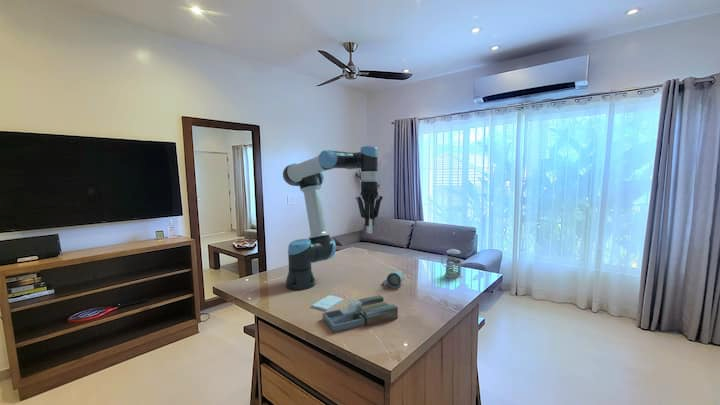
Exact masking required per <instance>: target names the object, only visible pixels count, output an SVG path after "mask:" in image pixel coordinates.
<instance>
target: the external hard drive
mask: <svg viewBox="0 0 720 405" xmlns="http://www.w3.org/2000/svg"><path fill="white" fill-rule="evenodd" d="M342 302H344V298H342V297H339V296H335V295H329V294H328V295H327V296H325V297H324V298H322V299H320V300H318V301H317V302H315V303H313V304H311V308H314V309H319V310H322V311H324V312H329V311H330V310H331V309H332V308H333V307H336V306H337V305H338V304H340V303H342Z"/></svg>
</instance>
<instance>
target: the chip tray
mask: <svg viewBox="0 0 720 405" xmlns="http://www.w3.org/2000/svg"><path fill="white" fill-rule="evenodd" d="M339 309H340V308H339ZM339 309H335V310H328V311H324V312H322V320H323V321H324V323H325V324H326V325H327V326H328V327H329V329H330V330H331V331H332V333H339V332H343V331H347V330H352V329H355V328H358V327H363V326H365V325H366V324H365V318H364V317H362V316H361V315H360V314H356V315H353V321H348V322H344V323H342V322H341V320H340V319H339Z"/></svg>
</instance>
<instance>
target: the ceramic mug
mask: <svg viewBox="0 0 720 405" xmlns="http://www.w3.org/2000/svg"><path fill="white" fill-rule="evenodd" d="M403 281H404V274H403V272H401V271H400V270H397V269H395V270H393V271H391V272H390V273H389V274H387V277H386V279H384V280H383V281H382V284H383V285H388V286H389V287H390V288H392V289H393V288H394V289H395V288H399V287H400V286H401V285H402V283H403Z"/></svg>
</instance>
